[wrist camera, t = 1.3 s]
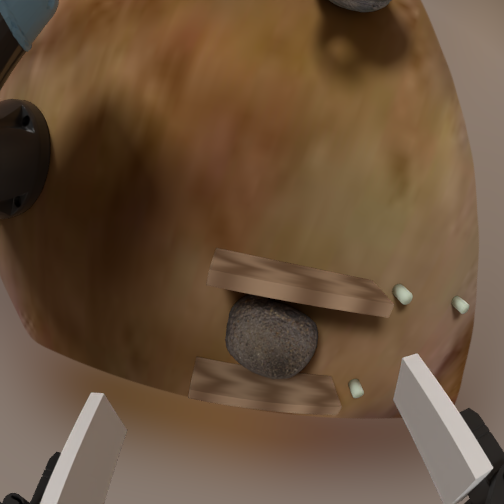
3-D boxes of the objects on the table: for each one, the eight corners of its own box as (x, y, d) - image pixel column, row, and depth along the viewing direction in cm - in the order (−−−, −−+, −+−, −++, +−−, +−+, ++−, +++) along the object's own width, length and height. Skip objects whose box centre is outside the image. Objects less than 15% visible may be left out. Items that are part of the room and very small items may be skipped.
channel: (195, 365, 35) (188, 397, 30) (216, 247, 30) (209, 269, 25) (327, 383, 37) (336, 415, 31) (372, 280, 32) (394, 304, 26)
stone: (224, 324, 38) (255, 394, 33) (204, 307, 30) (241, 397, 26) (293, 292, 38) (328, 360, 34) (290, 267, 31) (335, 354, 26)
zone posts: (346, 386, 37) (350, 398, 35) (395, 282, 32) (404, 291, 30) (412, 387, 38) (418, 397, 36) (461, 296, 33) (470, 304, 31)
